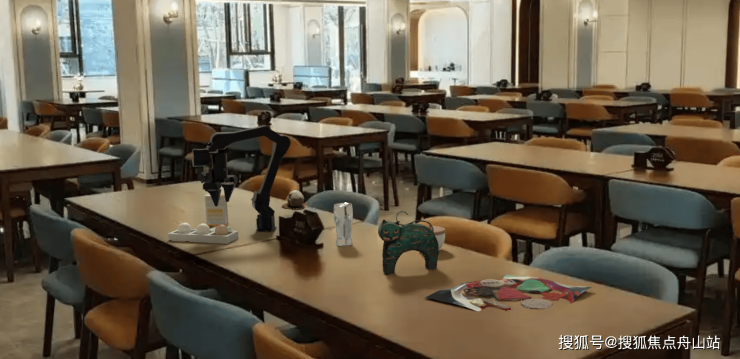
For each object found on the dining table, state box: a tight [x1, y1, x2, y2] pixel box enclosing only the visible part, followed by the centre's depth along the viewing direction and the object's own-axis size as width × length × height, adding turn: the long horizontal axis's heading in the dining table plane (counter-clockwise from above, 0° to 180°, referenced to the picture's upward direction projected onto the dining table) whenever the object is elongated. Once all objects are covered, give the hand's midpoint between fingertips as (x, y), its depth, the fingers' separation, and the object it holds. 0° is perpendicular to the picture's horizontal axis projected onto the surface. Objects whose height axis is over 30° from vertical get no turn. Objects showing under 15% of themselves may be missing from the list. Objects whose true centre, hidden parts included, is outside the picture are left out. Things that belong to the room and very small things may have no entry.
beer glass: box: [333, 202, 354, 247], centre depth 298 cm, size 7×7×15 cm
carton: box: [167, 222, 239, 245], centre depth 313 cm, size 25×9×6 cm, turn 73°
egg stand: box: [210, 226, 232, 231], centre depth 323 cm, size 6×6×2 cm
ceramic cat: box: [377, 210, 440, 276], centre depth 261 cm, size 20×6×20 cm, turn 105°
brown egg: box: [215, 224, 229, 236], centre depth 310 cm, size 5×5×5 cm
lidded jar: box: [426, 224, 446, 251], centre depth 287 cm, size 11×11×9 cm
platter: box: [424, 274, 593, 312], centre depth 234 cm, size 35×35×2 cm
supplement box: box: [204, 193, 229, 227], centre depth 337 cm, size 8×5×13 cm, turn 84°
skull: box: [281, 189, 309, 210], centre depth 373 cm, size 12×10×10 cm
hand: (221, 204), depth 320 cm, fingers open, 9 cm apart
